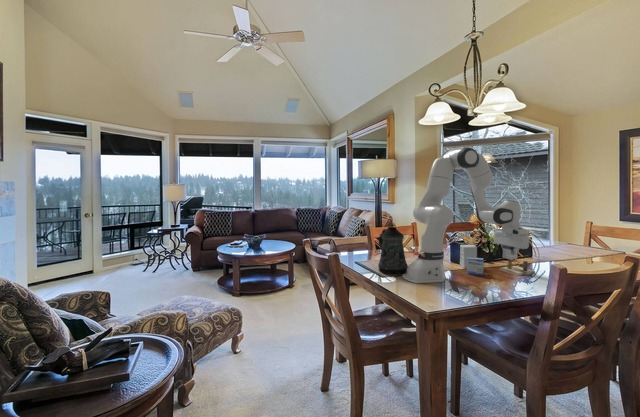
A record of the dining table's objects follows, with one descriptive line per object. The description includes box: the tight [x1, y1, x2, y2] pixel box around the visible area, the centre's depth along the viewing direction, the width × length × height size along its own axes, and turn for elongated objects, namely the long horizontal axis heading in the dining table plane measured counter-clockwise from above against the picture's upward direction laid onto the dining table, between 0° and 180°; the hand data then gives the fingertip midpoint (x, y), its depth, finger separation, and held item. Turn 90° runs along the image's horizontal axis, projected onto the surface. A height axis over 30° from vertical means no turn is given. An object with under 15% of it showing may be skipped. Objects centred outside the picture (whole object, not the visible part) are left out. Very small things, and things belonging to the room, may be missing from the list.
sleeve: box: [501, 245, 518, 260], centre depth 182 cm, size 5×5×7 cm
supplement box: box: [459, 244, 478, 269], centre depth 192 cm, size 7×7×13 cm
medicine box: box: [466, 257, 485, 276], centre depth 178 cm, size 8×4×9 cm, turn 62°
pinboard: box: [498, 259, 536, 276], centre depth 181 cm, size 12×12×6 cm
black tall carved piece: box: [377, 226, 409, 276], centre depth 187 cm, size 16×19×25 cm
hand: (509, 253), depth 182 cm, fingers closed on sleeve, 5 cm apart
